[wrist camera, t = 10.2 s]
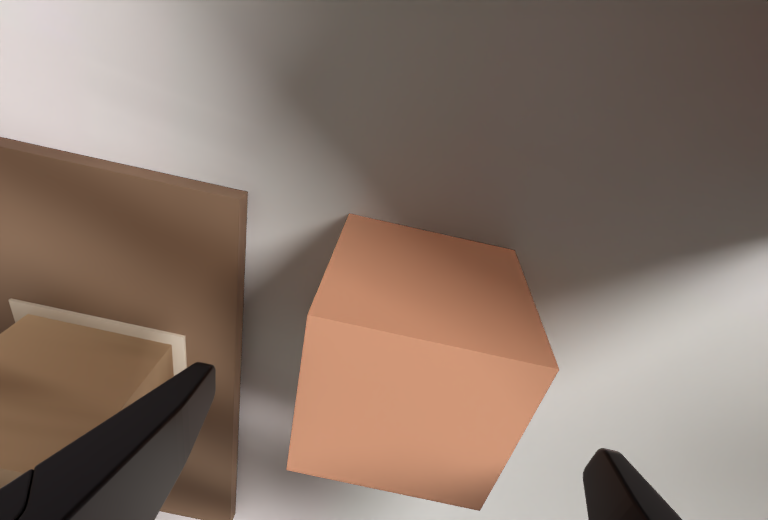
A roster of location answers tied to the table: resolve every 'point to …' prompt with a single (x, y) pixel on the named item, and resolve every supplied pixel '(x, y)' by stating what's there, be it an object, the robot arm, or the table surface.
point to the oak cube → (67, 385)
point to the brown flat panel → (135, 280)
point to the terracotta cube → (418, 364)
